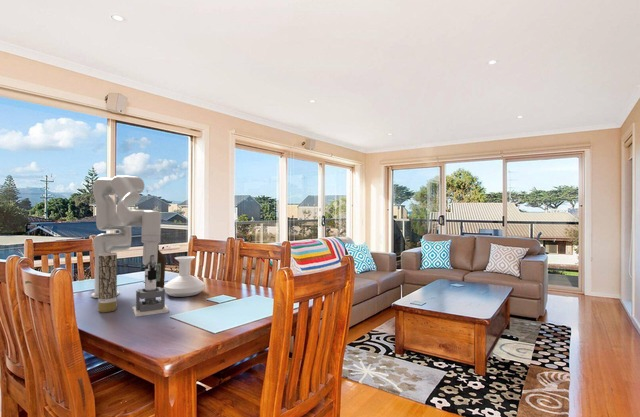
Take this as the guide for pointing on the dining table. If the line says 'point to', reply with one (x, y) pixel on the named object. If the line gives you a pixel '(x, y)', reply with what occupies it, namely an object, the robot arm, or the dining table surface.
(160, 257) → the olive oil
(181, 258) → the white vase
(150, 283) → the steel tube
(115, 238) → the robot arm
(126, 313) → the dining table surface
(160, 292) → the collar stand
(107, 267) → the bark-patterned cylinder
